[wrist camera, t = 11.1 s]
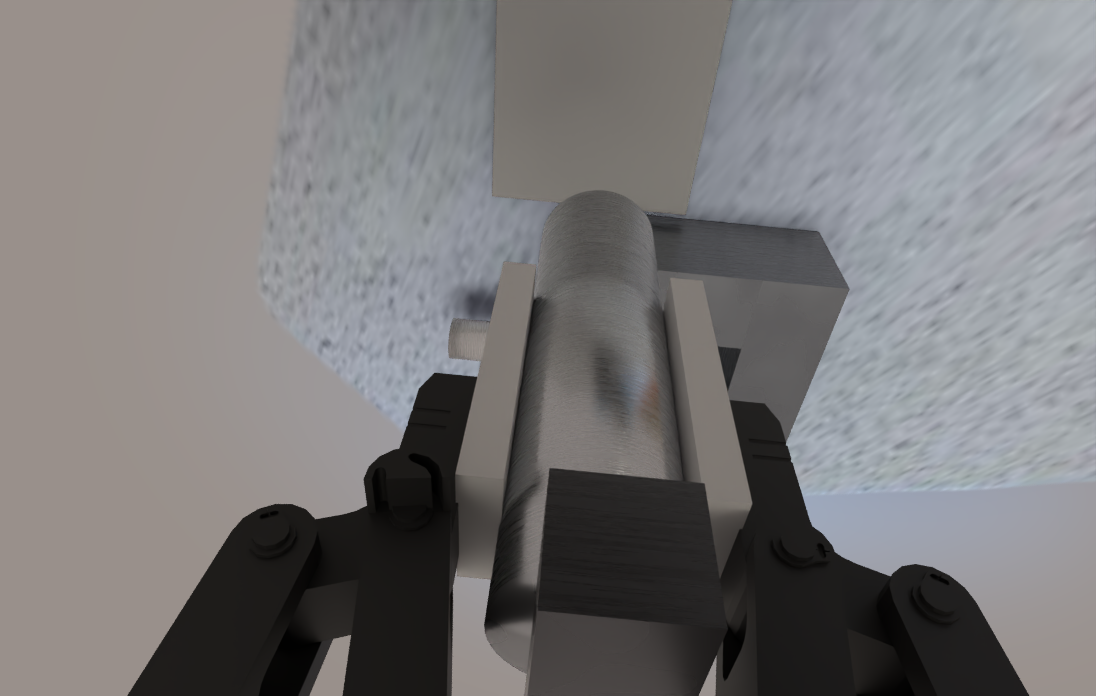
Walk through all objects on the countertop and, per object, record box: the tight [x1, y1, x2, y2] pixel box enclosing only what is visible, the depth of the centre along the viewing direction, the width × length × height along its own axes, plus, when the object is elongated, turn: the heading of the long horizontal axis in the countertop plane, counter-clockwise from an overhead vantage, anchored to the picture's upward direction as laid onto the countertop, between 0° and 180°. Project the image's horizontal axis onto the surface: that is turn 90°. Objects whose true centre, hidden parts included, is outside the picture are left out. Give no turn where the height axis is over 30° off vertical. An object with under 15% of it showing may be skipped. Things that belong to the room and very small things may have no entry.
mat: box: [492, 0, 732, 215], centre depth 29 cm, size 9×9×1 cm
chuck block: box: [448, 215, 849, 441], centre depth 34 cm, size 12×17×5 cm
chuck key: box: [484, 190, 728, 696], centre depth 14 cm, size 7×3×14 cm, turn 176°
